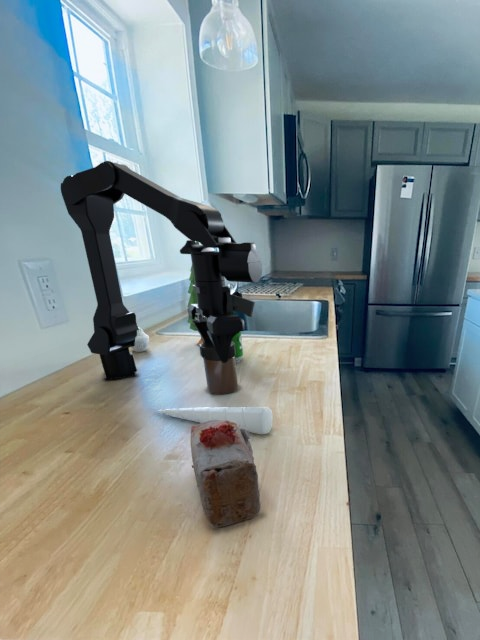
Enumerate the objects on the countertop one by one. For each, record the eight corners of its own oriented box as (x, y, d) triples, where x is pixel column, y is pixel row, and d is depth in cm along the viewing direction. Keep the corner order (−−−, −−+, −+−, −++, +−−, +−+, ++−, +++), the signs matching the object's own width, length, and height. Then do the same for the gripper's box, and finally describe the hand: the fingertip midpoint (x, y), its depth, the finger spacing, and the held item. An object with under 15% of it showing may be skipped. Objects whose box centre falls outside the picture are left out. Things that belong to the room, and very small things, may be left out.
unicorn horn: (170, 406, 73) (166, 383, 71) (275, 428, 66) (274, 403, 64) (153, 415, 69) (147, 392, 67) (262, 440, 62) (261, 414, 60)
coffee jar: (211, 396, 78) (205, 352, 74) (204, 386, 83) (198, 345, 79) (241, 391, 81) (237, 349, 77) (233, 381, 86) (229, 341, 82)
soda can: (240, 365, 97) (235, 319, 92) (212, 364, 97) (206, 318, 92) (246, 357, 104) (242, 313, 98) (219, 356, 104) (214, 313, 98)
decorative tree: (221, 347, 112) (208, 237, 98) (189, 349, 110) (171, 236, 96) (221, 340, 120) (210, 237, 106) (191, 341, 118) (175, 236, 104)
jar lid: (241, 356, 78) (239, 345, 77) (207, 361, 74) (205, 350, 73) (229, 348, 83) (228, 338, 82) (197, 353, 80) (195, 342, 78)
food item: (192, 472, 53) (180, 411, 49) (246, 460, 56) (240, 402, 51) (205, 533, 42) (192, 462, 38) (272, 515, 45) (267, 447, 41)
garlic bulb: (128, 348, 109) (123, 325, 106) (151, 346, 112) (146, 323, 108) (128, 354, 104) (122, 329, 101) (151, 352, 107) (146, 327, 103)
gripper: (267, 283, 69) (271, 364, 76) (232, 275, 82) (239, 343, 90) (208, 286, 63) (219, 372, 71) (181, 276, 77) (193, 349, 84)
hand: (219, 358), depth 79 cm, fingers closed on jar lid, 7 cm apart
